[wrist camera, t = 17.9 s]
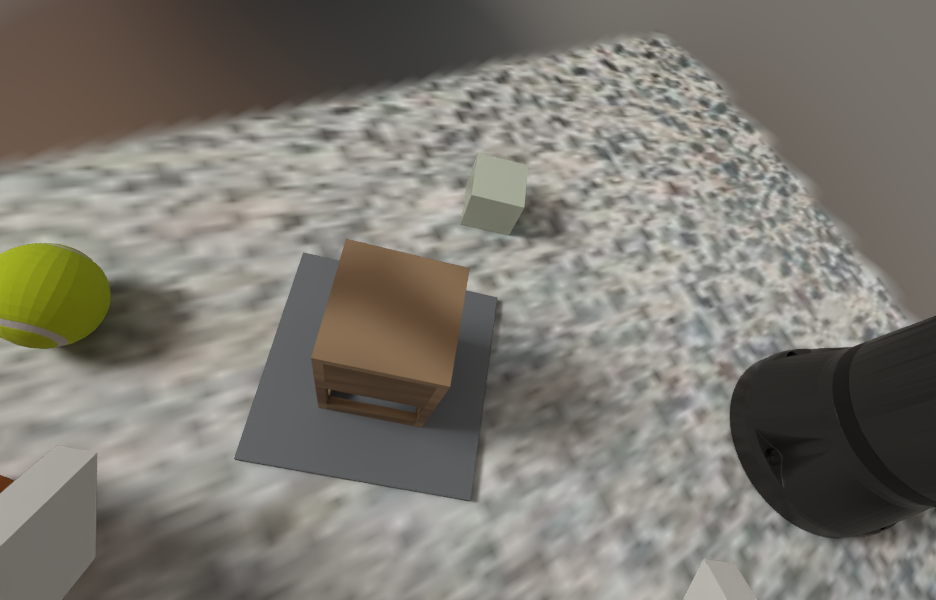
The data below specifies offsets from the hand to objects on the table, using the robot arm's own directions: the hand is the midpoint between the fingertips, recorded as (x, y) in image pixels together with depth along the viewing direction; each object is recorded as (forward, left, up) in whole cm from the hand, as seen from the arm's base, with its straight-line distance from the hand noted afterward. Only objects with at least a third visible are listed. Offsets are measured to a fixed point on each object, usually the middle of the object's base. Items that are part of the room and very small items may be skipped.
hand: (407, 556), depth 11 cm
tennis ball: (+25, -3, -26) cm, 36 cm away
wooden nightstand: (+5, -11, -25) cm, 28 cm away
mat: (+5, -11, -26) cm, 28 cm away
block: (+5, -29, -26) cm, 39 cm away
